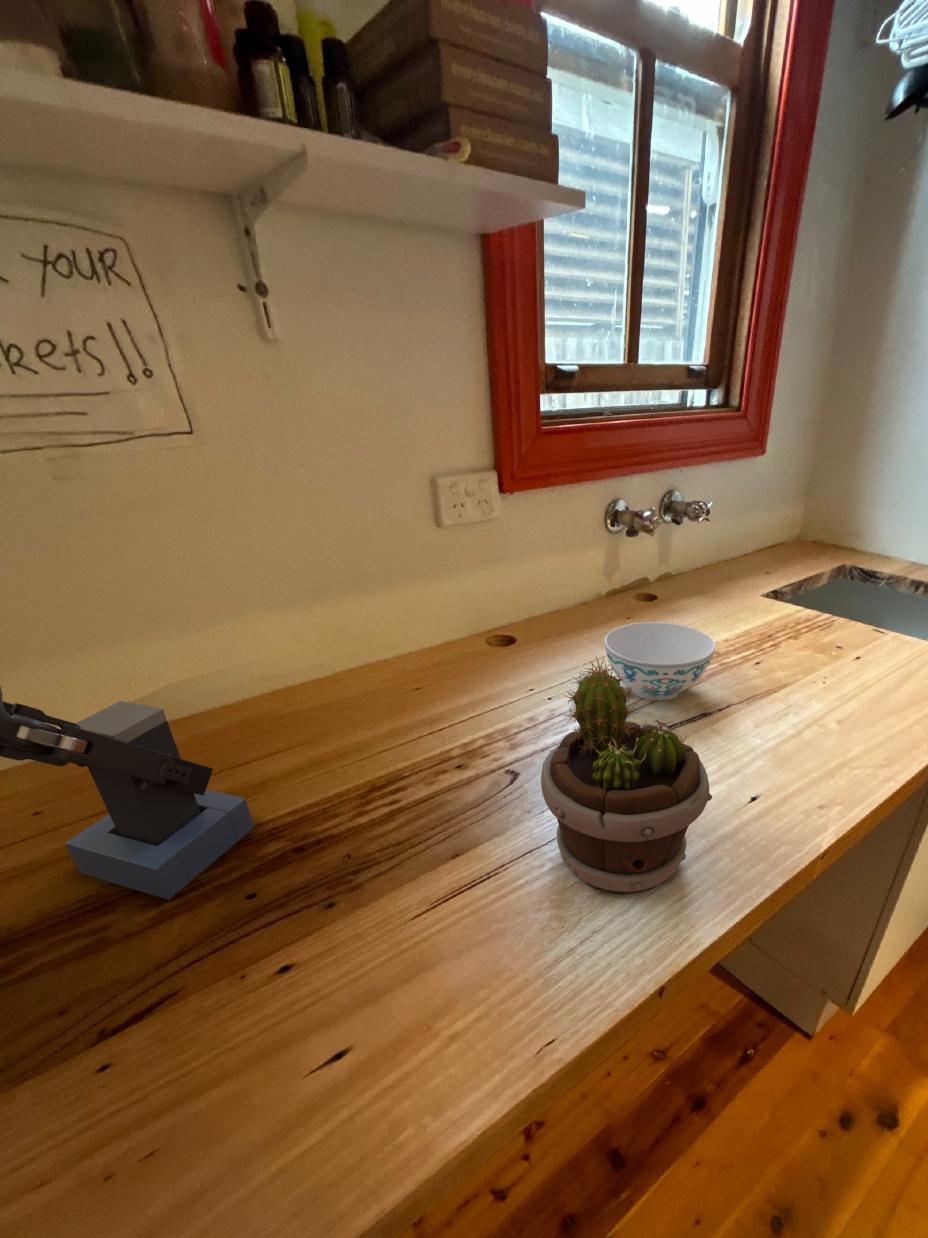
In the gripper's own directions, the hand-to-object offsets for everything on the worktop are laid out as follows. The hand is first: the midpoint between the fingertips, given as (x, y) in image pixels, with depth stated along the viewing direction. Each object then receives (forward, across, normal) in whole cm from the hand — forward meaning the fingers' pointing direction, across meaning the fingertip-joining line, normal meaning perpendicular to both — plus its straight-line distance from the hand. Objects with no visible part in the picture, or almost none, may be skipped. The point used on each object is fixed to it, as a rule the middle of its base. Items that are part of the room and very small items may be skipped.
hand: (181, 776), depth 62 cm
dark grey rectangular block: (0, 0, -5) cm, 5 cm away
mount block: (+2, 0, -7) cm, 8 cm away
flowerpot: (+11, +42, +2) cm, 43 cm away
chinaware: (+37, +38, +27) cm, 60 cm away
